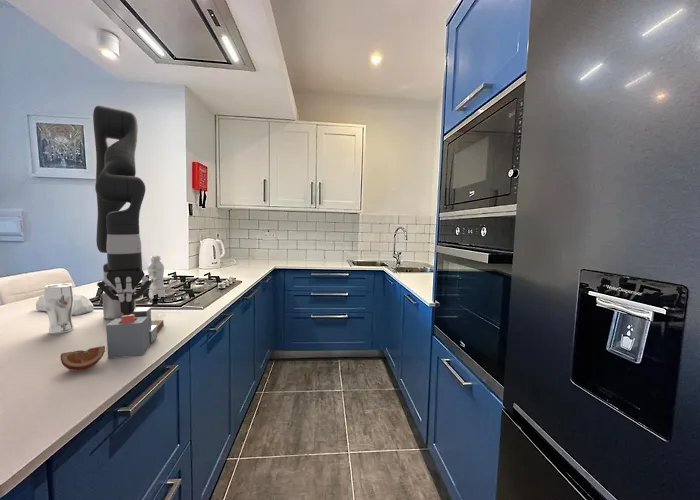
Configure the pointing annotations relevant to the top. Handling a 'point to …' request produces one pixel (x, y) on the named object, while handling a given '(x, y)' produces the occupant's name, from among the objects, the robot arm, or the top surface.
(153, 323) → the rail
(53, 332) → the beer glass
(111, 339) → the cabinet
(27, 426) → the top surface
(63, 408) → the top surface
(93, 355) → the fruit slice
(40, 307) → the crystal
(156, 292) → the plastic bottle
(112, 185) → the robot arm
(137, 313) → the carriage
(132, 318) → the button
